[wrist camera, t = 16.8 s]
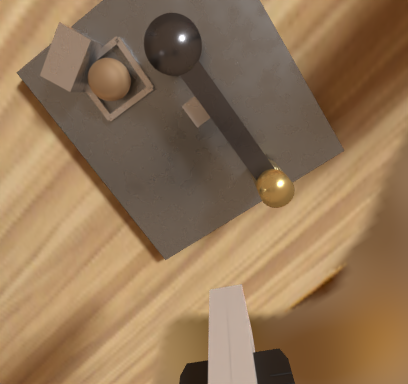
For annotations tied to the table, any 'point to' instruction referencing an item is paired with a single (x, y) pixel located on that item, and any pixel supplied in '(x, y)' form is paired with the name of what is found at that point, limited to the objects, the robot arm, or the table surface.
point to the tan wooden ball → (109, 79)
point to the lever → (211, 101)
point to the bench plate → (181, 113)
